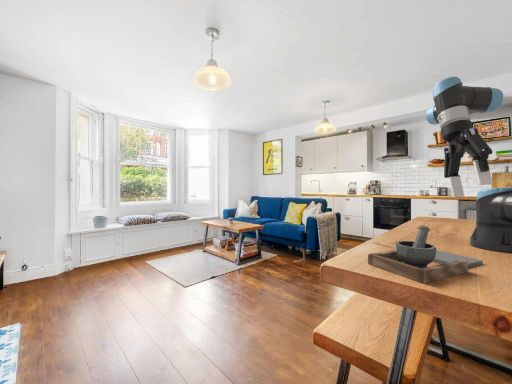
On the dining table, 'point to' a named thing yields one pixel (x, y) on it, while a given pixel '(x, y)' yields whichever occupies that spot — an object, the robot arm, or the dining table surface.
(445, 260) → the slate mat
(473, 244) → the robot arm
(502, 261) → the dining table surface
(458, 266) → the rectangular wooden frame
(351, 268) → the dining table surface
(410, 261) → the mortar and pestle
